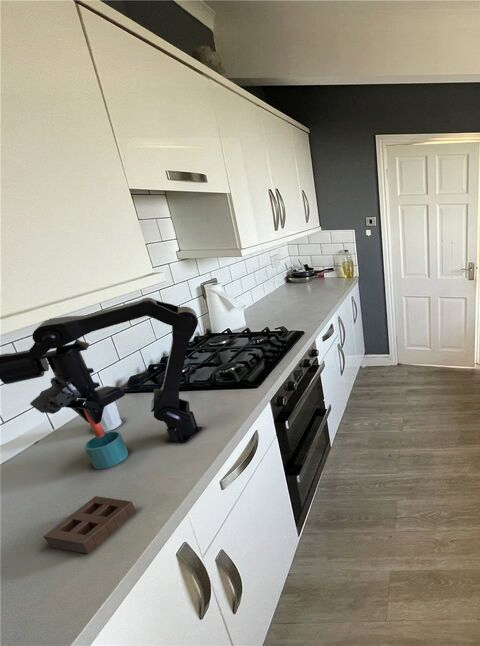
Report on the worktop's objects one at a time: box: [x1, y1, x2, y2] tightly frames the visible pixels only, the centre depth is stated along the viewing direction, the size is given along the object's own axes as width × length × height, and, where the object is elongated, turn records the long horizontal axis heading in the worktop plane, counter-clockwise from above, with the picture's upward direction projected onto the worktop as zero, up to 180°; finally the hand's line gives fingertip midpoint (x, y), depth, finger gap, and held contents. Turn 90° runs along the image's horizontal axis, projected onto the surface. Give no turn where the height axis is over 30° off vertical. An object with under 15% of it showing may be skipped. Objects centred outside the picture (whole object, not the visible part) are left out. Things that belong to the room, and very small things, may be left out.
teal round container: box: [83, 430, 129, 470], centre depth 93 cm, size 7×7×6 cm
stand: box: [43, 495, 137, 555], centre depth 74 cm, size 10×10×3 cm
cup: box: [95, 385, 122, 433], centre depth 106 cm, size 8×8×12 cm
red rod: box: [83, 409, 106, 438], centre depth 90 cm, size 2×2×10 cm
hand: (94, 422), depth 90 cm, fingers closed on red rod, 2 cm apart
